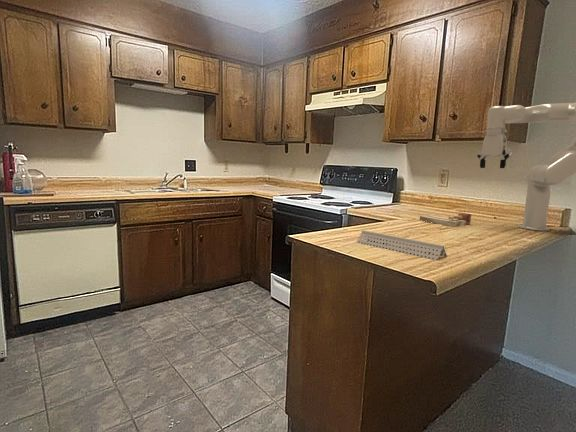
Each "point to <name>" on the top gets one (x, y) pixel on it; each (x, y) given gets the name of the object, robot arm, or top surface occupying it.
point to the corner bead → (402, 245)
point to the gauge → (462, 217)
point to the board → (443, 220)
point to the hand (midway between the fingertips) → (492, 168)
